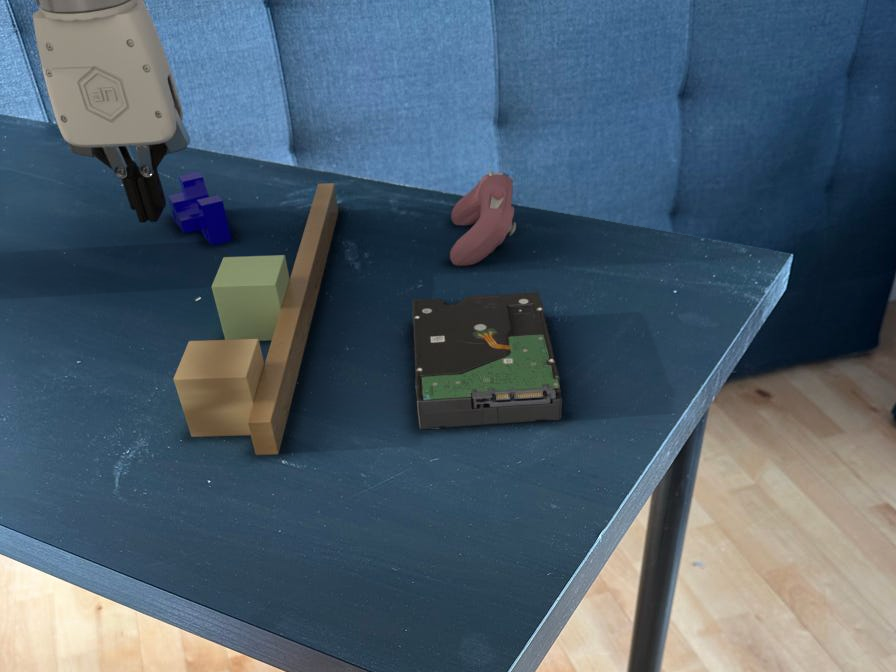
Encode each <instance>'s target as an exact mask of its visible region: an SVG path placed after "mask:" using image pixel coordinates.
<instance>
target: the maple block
mask: <svg viewBox="0 0 896 672" xmlns="http://www.w3.org/2000/svg"><path fill="white" fill-rule="evenodd" d="M264 365H265V362H264V357H263V352H262V349H261V345H260V341H259V340H258V339H238V340H225V339H210V340H208V339H207V340H189V341H188V343H187V345H186V348H185V350H184V352H183V355H182V357H181V360H180V362H179V365H178V367H177V369H176V372H175V373H174V377H173V382H174V385H175V388H176V391H177V395H178V398H179V401H180V404H181V407H182V411H183V414H184V416H185V421H186V423H187V426H188V431H189V433H190V436H191V438H197V437H198V438H199V437H201V438H203V437H231V436H232V437H235V436H251V434H250V430H249V426H248V419H249V416H250V412H251V409H252V406H253V402H254V399H255V395H256V392H257V389H258V385H259V382H260V379H261V375H262V372H263V368H264Z"/></svg>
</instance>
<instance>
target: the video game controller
mask: <svg viewBox="0 0 896 672" xmlns="http://www.w3.org/2000/svg"><path fill="white" fill-rule="evenodd" d="M513 185H514V180H513V178H512V177H510V176H509V175H508V174H506V173H503V172H497V173H494V172H493V170H492V169H490V170H489V173H488V174H484V175H483V176H482V177H481V179H480V180H479V182H478V183H477V184H476V186H474V187H473V188H472V189H471V190H470V191H469V192H468V193H466V194H465V195H464V196H463V197H461V198H460V199H459V200H458V201H457V202H456V204H455V205H454V207H453V208H452V211H451V215H450V216H451V218H450V219H451V221H452V223H453V224H454V225H456V226H472V227H471V228H470V229H469V230H467V231H466V232H465V233H464V234H463V235H461V237H459V238H458V239H457V240H456V242H455V243H454V244H453V246H452V247H451V249H450V252H449V260H450V261H451V263H452V264H453V265H454V266H458V267H459V266H460V267H462V266H465V267H466V266H472V265H475V264H478V263H480V262H481V261H482V260H484V259H485V258H487V257H488V256H489V255H490V254H493V253H494V251H495V249H496V248H498V246H501V244H502V243H503V242H504V241H505V239H506V237H507V235H508V237H512V235H513V234H514V233H515V232H516V229H517V224H516V221H513V219H514V215H515V207H514V206H513V205H512V202H513V194H514V186H513Z"/></svg>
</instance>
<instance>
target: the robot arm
mask: <svg viewBox="0 0 896 672" xmlns="http://www.w3.org/2000/svg"><path fill="white" fill-rule="evenodd" d="M35 2H36V6H40V9H38V10H36V11H35V12H34V13H33V14H32V21H33V28H34V34H35V40H36V45H37V50H38V55H39V60H40V64H41V69H42V73H43V77H44V81H45V85H46V89H47V93H48V96H49V100H50V103H51V107H52V111H53V114H54V117H55V120H56V124H57V127H58V130H59V131H60V134H61V136H62V138H63V140H64V141H65V142H66V143H68V144H69V149H70V151H71V152H72V153H73V154H75V155H80V156H83V157H89V158H96V159H98V161H100V162H101V163H102V164H104V165H105V166H106V167H108V168H109V169H110V170H112V172H113V174H114V175H115V176H116V177H117V178H118V179H120V180H121V182H122V185H123V189H124V191H125V194H126V198H127V201H128V204H129V207H130V210H132V211H135V213H136V216H137V220H138V222H139V223H147V221H150V222H151V223H157V222H158V221H159V219H160V217H161V215H162V214H163V212H164V209H165V208H166V206H167V202H166V201H167V200H166V196H165V192H164V188H163V184H162V182H161V178H160V175H159V170H158V167H160V166H159V165H160V164H161V163H162V161H163V160H164V158H165V156H167V155H170V154H175V153H178V152H180V151H183V150H186V149H187V148H188V146H189V144H190V143H191V137H190V134H189V133H188V131H187V127H186V126H185V123H184V122H183V120H184V119H183V118H184V113H183V109H182V103H181V99H180V96H179V92H178V88H177V85H176V81H175V78H174V76H173V71H172V69H171V66H170V63H169V60H168V56H167V54H166V52H165V48H164V47H163V43H162V40H161V38H160V35H159V34H158V30H157V28H156V26H155V23H154V21H153V18H152V16H151V14H150V12H149V10H148V7H147V5H146V4H145V2H144V0H35ZM130 147H135V150H136V156H137V157H136V158H137V163H136V161H135V158H134V156H133V153H132V152H131V149H130Z"/></svg>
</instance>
